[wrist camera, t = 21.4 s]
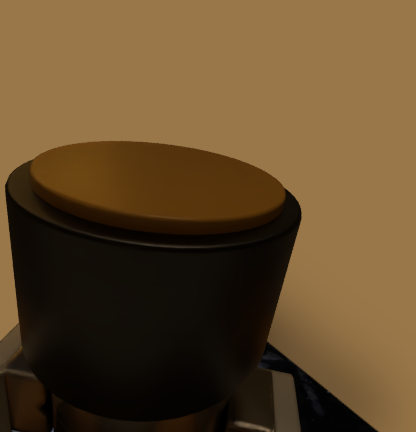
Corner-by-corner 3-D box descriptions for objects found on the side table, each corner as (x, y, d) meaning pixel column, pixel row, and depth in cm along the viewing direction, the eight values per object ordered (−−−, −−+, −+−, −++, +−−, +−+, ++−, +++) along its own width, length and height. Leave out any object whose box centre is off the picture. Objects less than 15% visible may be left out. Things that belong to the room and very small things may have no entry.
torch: (50, 722, 7) (-20, 251, 2) (44, 493, 11) (12, 131, 6) (229, 599, 9) (374, 218, 5) (173, 442, 13) (221, 143, 8)
